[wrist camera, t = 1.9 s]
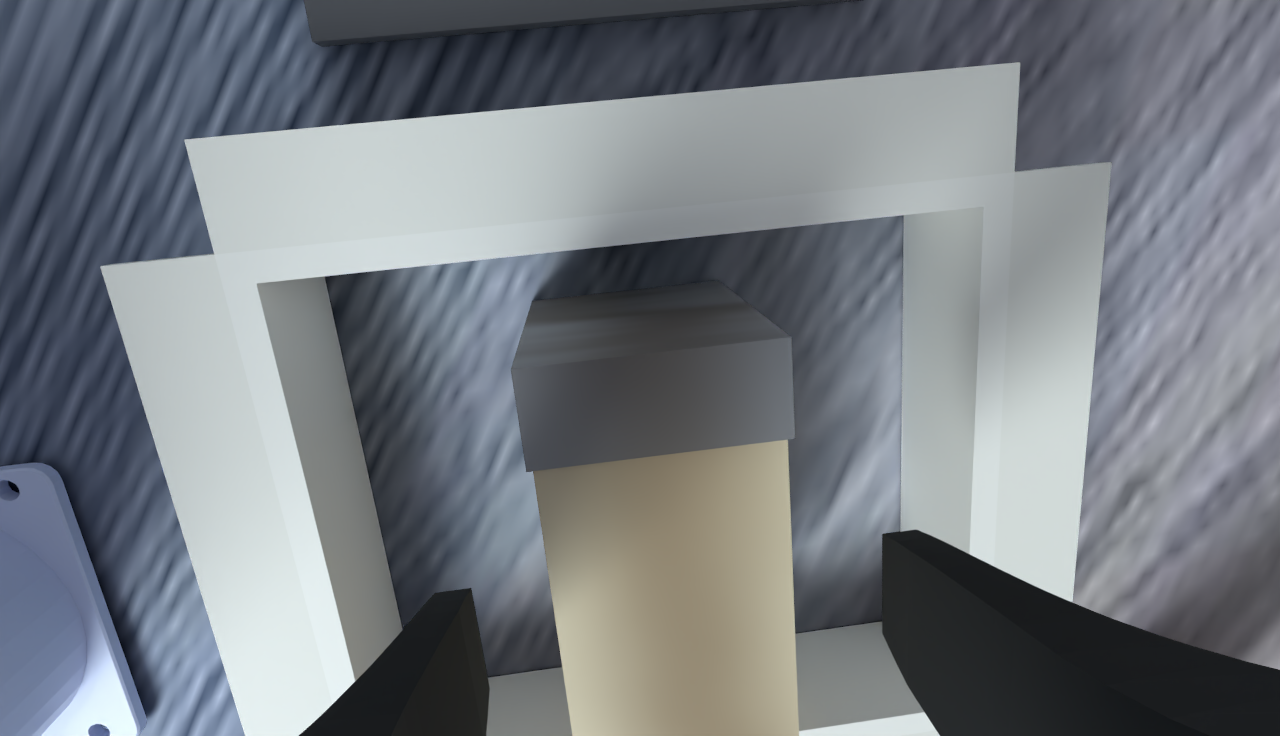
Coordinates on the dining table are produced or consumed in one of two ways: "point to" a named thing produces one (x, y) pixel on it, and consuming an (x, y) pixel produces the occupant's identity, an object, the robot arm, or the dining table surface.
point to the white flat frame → (590, 218)
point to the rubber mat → (495, 15)
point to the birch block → (665, 507)
